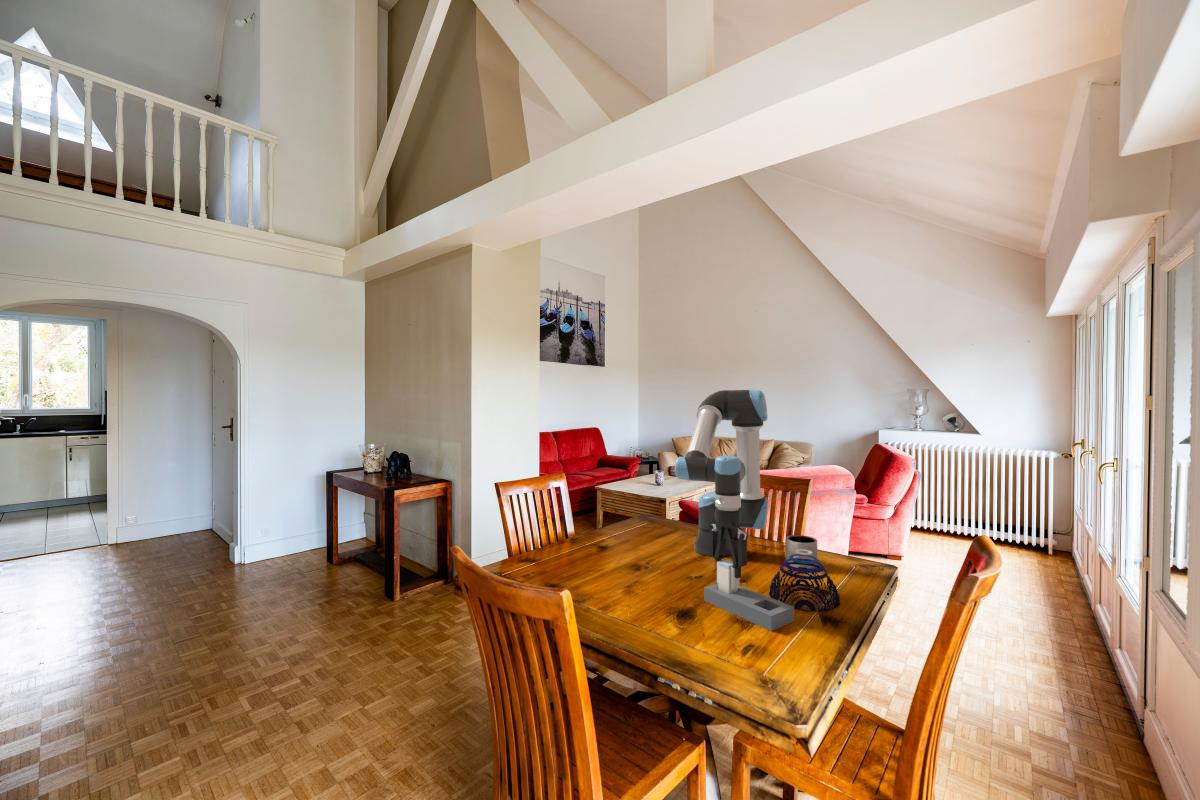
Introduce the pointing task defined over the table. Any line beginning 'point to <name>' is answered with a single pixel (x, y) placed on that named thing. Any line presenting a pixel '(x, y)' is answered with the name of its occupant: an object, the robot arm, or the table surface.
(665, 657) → the table surface
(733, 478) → the robot arm
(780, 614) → the gray socket block
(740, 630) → the table surface
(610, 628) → the table surface
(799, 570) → the decorative bowl
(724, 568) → the plug
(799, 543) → the planter
